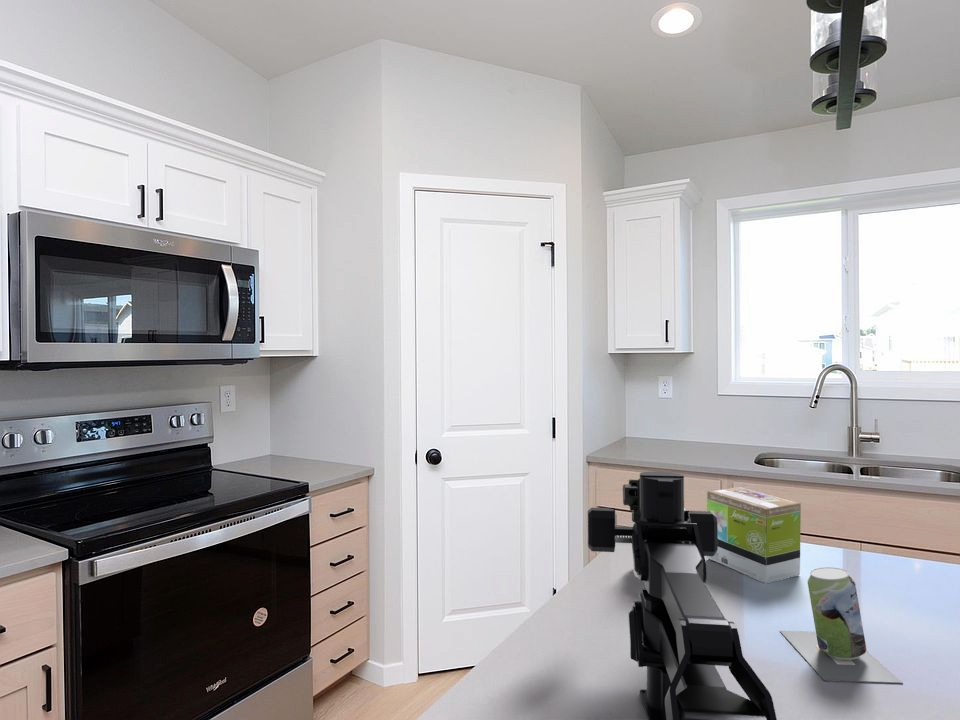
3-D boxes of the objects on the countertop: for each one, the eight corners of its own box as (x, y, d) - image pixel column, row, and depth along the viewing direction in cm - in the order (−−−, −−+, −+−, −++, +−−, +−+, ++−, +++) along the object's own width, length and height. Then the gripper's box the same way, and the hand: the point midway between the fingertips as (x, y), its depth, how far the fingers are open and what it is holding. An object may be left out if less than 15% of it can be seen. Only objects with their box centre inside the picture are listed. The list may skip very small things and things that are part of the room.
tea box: (704, 559, 126) (705, 489, 126) (739, 552, 130) (739, 485, 130) (765, 585, 112) (766, 506, 112) (802, 576, 117) (802, 501, 116)
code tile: (902, 683, 79) (902, 681, 79) (824, 680, 80) (824, 679, 80) (846, 633, 93) (846, 632, 93) (779, 631, 94) (779, 630, 94)
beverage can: (874, 667, 83) (874, 581, 83) (815, 662, 84) (816, 577, 84) (855, 645, 89) (855, 565, 89) (801, 641, 90) (801, 562, 90)
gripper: (728, 488, 82) (702, 470, 97) (589, 484, 84) (585, 467, 100) (729, 570, 82) (702, 539, 97) (590, 564, 84) (585, 535, 100)
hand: (643, 518), depth 98 cm, fingers open, 9 cm apart
